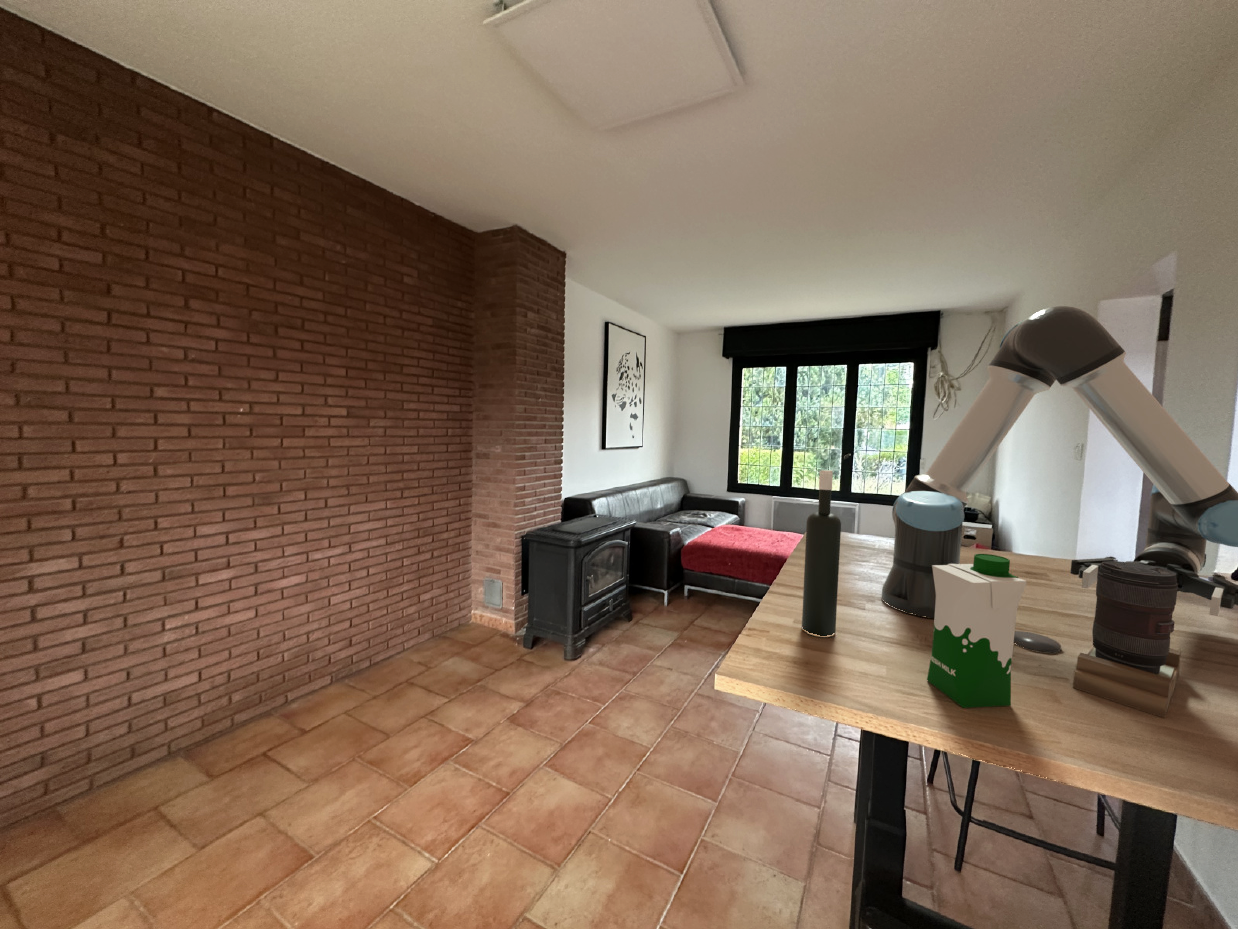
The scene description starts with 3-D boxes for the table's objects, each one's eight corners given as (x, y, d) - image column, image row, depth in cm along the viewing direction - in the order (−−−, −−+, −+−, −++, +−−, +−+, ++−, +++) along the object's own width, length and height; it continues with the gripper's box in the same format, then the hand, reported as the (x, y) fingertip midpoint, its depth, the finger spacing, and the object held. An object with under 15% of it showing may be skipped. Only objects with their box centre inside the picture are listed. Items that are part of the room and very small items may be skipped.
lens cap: (1015, 650, 83) (1015, 644, 83) (1002, 633, 89) (1003, 628, 89) (1067, 658, 80) (1068, 652, 80) (1050, 640, 87) (1051, 635, 87)
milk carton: (1023, 709, 66) (1036, 567, 64) (960, 712, 65) (972, 568, 63) (971, 675, 74) (981, 548, 72) (915, 677, 74) (924, 549, 72)
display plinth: (1164, 718, 64) (1168, 686, 63) (1072, 687, 71) (1076, 658, 71) (1178, 677, 74) (1181, 649, 74) (1096, 653, 81) (1099, 628, 81)
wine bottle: (835, 627, 91) (843, 469, 88) (835, 640, 86) (843, 473, 82) (802, 622, 93) (810, 468, 90) (800, 634, 88) (807, 471, 85)
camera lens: (1142, 656, 75) (1153, 562, 73) (1182, 683, 67) (1196, 579, 66) (1077, 647, 78) (1087, 557, 76) (1108, 673, 70) (1120, 572, 68)
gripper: (1279, 610, 77) (1277, 646, 65) (1071, 569, 98) (1039, 591, 85) (1285, 564, 77) (1285, 593, 64) (1074, 533, 97) (1043, 550, 84)
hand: (1145, 592), depth 75 cm, fingers open, 13 cm apart
